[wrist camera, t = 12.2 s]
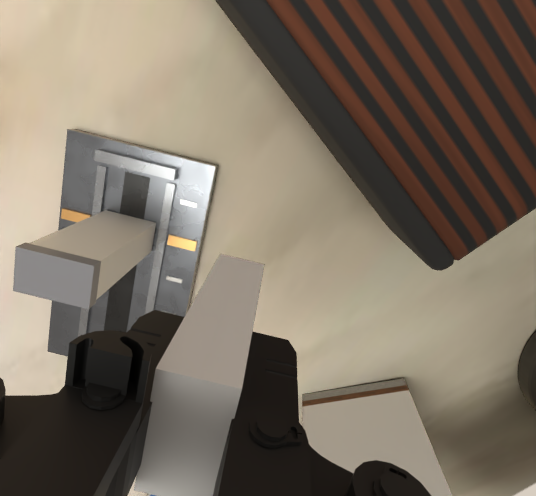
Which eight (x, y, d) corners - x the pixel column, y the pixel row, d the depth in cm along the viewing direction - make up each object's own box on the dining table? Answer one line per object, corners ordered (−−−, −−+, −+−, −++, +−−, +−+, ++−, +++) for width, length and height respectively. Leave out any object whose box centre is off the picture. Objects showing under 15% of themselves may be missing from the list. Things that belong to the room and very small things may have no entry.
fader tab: (152, 252, 39) (88, 309, 27) (101, 239, 39) (13, 290, 26) (157, 221, 38) (94, 266, 26) (104, 208, 38) (15, 246, 26)
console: (175, 373, 45) (169, 388, 42) (55, 344, 45) (40, 357, 42) (218, 165, 38) (213, 167, 35) (75, 129, 38) (60, 129, 35)
